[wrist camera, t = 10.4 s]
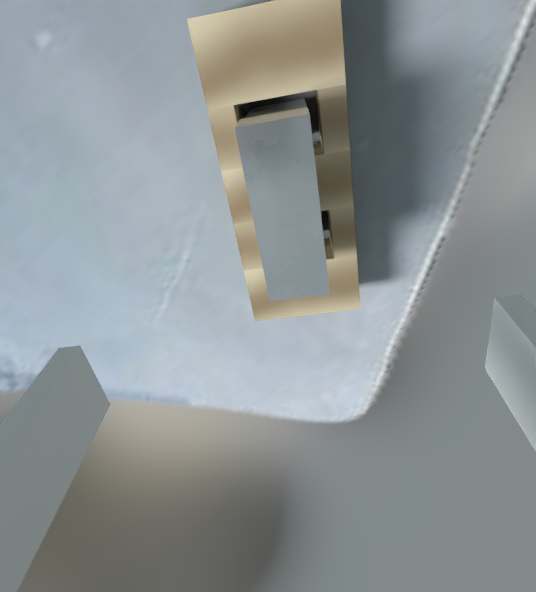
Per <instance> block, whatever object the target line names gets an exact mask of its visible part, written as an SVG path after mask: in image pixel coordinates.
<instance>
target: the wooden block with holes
mask: <svg viewBox="0 0 536 592" xmlns="http://www.w3.org/2000/svg"><path fill="white" fill-rule="evenodd" d="M187 21H188V26H189V30H190V35H191V39H192V43H193V48H194V52H195V57H196V61H197V65H198V70H199V74H200V79H201V83H202V88H203V92H204V96H205V101H206V105H207V110H208V114H209V119H210V123H211V127H212V132H213V136H214V141H215V145H216V150H217V154H218V158H219V163H220V167H221V172H222V176H223V180H224V185H225V189H226V194H227V198H228V203H229V207H230V211H231V216H232V220H233V225H234V229H235V234H236V238H237V242H238V247H239V251H240V256H241V260H242V265H243V269H244V273H245V278H246V282H247V287H248V291H249V295H250V300H251V304H252V309H253V313H254V318H255V321H259V320H268V319H277V318H286V317H294V316H303V315H312V314H320V313H329V312H338V311H346V310H355V309H360V296H359V280H358V264H357V249H356V233H355V218H354V202H353V186H352V171H351V155H350V140H349V124H348V108H347V93H346V77H345V62H344V46H343V30H342V15H341V0H274V1H269V2H265V3H260V4H256V5H251V6H246V7H242V8H237V9H232V10H228V11H223V12H218V13H214V14H209V15H204V16H200V17H195V18H190V19H187ZM313 90H315V92H316V102H317V112H318V122H319V132H320V143H314V144H313V148H314V157H315V165H316V174H317V183H318V192H319V201H320V210H321V211H325V210H327V213H328V223H329V233H330V238H328V239H324V245H325V254H326V263H327V272H328V281H329V290H330V294H327V295H319V296H311V297H303V298H295V299H287V300H279V301H271V302H270V300H269V295H268V290H267V285H266V280H265V275H264V271H263V266H262V261H261V256H260V251H259V246H258V241H257V236H256V231H255V226H254V221H253V216H252V212H251V207H250V202H249V197H248V192H247V187H246V182H245V177H244V172H243V167H242V162H241V158H240V153H239V148H238V143H237V138H236V133H235V126H236V125H237V123H238V122H239V120H240V119H244V118H243V112H242V107H241V104H243V103H248V102H253V101H259V100H264V99H270V98H275V97H280V96H286V95H291V94H297V93H302V92H308V91H313Z"/></svg>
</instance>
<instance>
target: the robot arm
mask: <svg viewBox="0 0 536 592" xmlns="http://www.w3.org/2000/svg"><path fill="white" fill-rule="evenodd" d="M485 369H486V371H487V373H488V374H489V376H490V378H491V379H492V381H493V382H494V384H495V386H496V387H497V389H498V391H499V392H500V394H501V396H502V397H503V399H504V400H505V402H506V404H507V405H508V407H509V409H510V410H511V412H512V414H513V415H514V417H515V418H516V420H517V422H518V423H519V425H520V427H521V428H522V430H523V432H524V433H525V435H526V436H527V438H528V440H529V441H530V443H531V445H532V446H533V448H534V450H535V451H536V309H535V308H534V306H533V305H532V304H531V303H530V302H529V301H528V300H527V299H526V298H525V297H524V296H523V295H514V296H505V297H496V298H494V306H493V313H492V320H491V327H490V335H489V342H488V350H487V357H486V364H485ZM109 405H110V403H109V401H108V399H107V397H106V395H105V393H104V391H103V389H102V387H101V385H100V383H99V381H98V379H97V378H96V376H95V374H94V372H93V370H92V368H91V366H90V364H89V362H88V360H87V358H86V356H85V354H84V352H83V350H82V349H81V347H80V346H73V347H64V348H59V349H58V350H57V351H56V353H55V354H54V355H53V356H52V358H51V359H50V360H49V362H48V363H47V364H46V366H45V367H44V368H43V370H42V371H41V372H40V374H39V375H38V376H37V377H36V379H35V380H34V381H33V383H32V384H31V385H30V387H29V388H28V389H27V391H26V392H25V393H24V395H23V396H22V397H21V398H20V400H19V401H18V403H17V404H16V405H15V406H14V408H13V409H12V410H11V412H10V413H9V414H8V416H7V417H6V418H5V420H4V421H3V422H2V423H1V425H0V592H17V590H18V588H19V586H20V584H21V582H22V580H23V578H24V576H25V574H26V572H27V570H28V568H29V566H30V564H31V562H32V560H33V558H34V556H35V554H36V552H37V550H38V548H39V546H40V544H41V542H42V540H43V538H44V536H45V534H46V532H47V530H48V528H49V526H50V524H51V522H52V520H53V518H54V516H55V514H56V512H57V510H58V508H59V506H60V504H61V502H62V500H63V498H64V496H65V494H66V492H67V490H68V488H69V486H70V484H71V482H72V480H73V478H74V476H75V474H76V472H77V470H78V468H79V466H80V464H81V462H82V460H83V458H84V456H85V454H86V452H87V450H88V448H89V446H90V444H91V442H92V440H93V438H94V436H95V434H96V432H97V430H98V428H99V426H100V424H101V422H102V420H103V418H104V416H105V414H106V412H107V410H108V408H109Z"/></svg>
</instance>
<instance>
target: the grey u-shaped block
mask: <svg viewBox="0 0 536 592" xmlns="http://www.w3.org/2000/svg"><path fill="white" fill-rule="evenodd" d="M235 133H236V138H237V143H238V148H239V153H240V158H241V162H242V167H243V172H244V177H245V182H246V187H247V192H248V197H249V202H250V207H251V212H252V216H253V221H254V226H255V231H256V236H257V241H258V246H259V251H260V256H261V261H262V266H263V271H264V275H265V280H266V285H267V290H268V295H269V300H270V302H271V301H279V300H287V299H295V298H303V297H311V296H319V295H327V294H330V290H329V281H328V272H327V263H326V254H325V245H324V236H323V227H322V219H321V210H320V201H319V192H318V183H317V174H316V165H315V157H314V148H313V139H312V130H311V121H310V113H309V110H308V107H307V106H306V103H305V99H300V100H294V101H289V102H284V103H278V104H273V105H268V106H262V107H257V108H252V109H250V111H249V112H248V114H247V115H246V117H245V118H244V119H240V120H239V122H238V123H237V125H236V126H235Z"/></svg>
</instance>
